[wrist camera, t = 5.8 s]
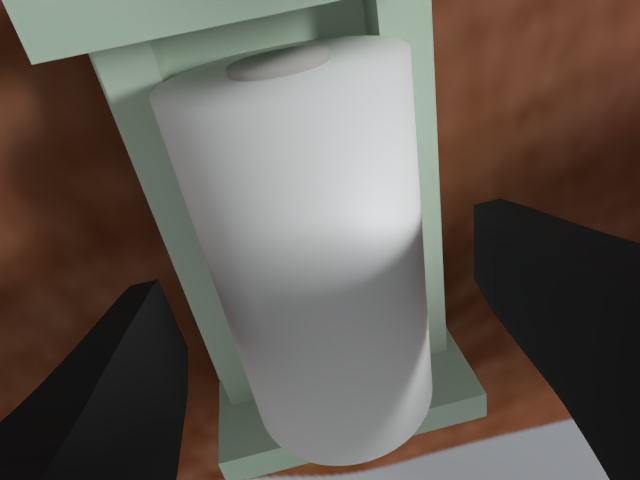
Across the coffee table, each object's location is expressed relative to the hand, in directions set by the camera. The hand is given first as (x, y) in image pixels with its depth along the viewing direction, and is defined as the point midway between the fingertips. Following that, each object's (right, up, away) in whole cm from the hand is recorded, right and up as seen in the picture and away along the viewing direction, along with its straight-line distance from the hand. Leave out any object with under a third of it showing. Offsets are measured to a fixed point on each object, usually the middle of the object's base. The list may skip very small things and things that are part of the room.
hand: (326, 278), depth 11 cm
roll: (0, 0, +1) cm, 1 cm away
